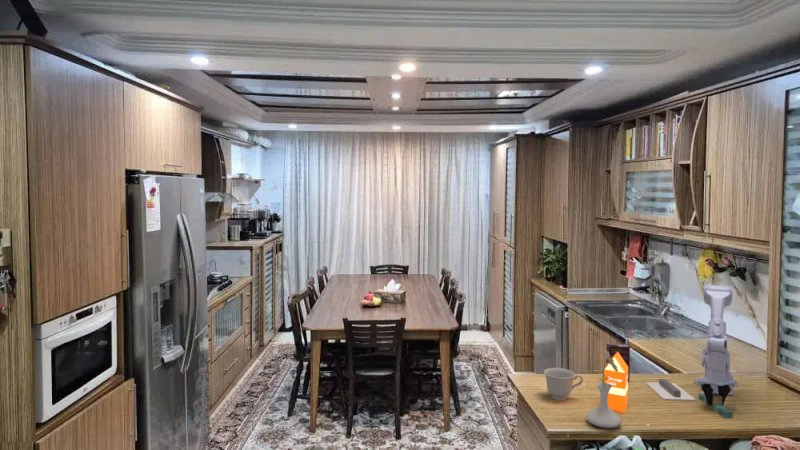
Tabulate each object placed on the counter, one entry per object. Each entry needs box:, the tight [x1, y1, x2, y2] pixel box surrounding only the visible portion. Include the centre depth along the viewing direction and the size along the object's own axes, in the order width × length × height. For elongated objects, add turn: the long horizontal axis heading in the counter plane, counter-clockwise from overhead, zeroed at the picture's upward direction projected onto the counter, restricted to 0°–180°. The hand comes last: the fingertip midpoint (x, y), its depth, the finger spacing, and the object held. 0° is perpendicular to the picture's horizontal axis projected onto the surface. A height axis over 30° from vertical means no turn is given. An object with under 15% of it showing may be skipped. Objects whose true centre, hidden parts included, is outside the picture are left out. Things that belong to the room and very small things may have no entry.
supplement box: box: [605, 343, 631, 384], centre depth 218 cm, size 9×5×16 cm, turn 84°
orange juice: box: [603, 352, 629, 413], centre depth 191 cm, size 8×9×20 cm
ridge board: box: [645, 378, 697, 402], centre depth 206 cm, size 12×18×3 cm, turn 175°
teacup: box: [543, 367, 584, 401], centre depth 198 cm, size 12×15×10 cm
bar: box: [698, 392, 733, 419], centre depth 190 cm, size 18×3×6 cm, turn 175°
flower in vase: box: [585, 350, 622, 429], centre depth 175 cm, size 13×11×25 cm
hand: (714, 404), depth 190 cm, fingers open, 4 cm apart
